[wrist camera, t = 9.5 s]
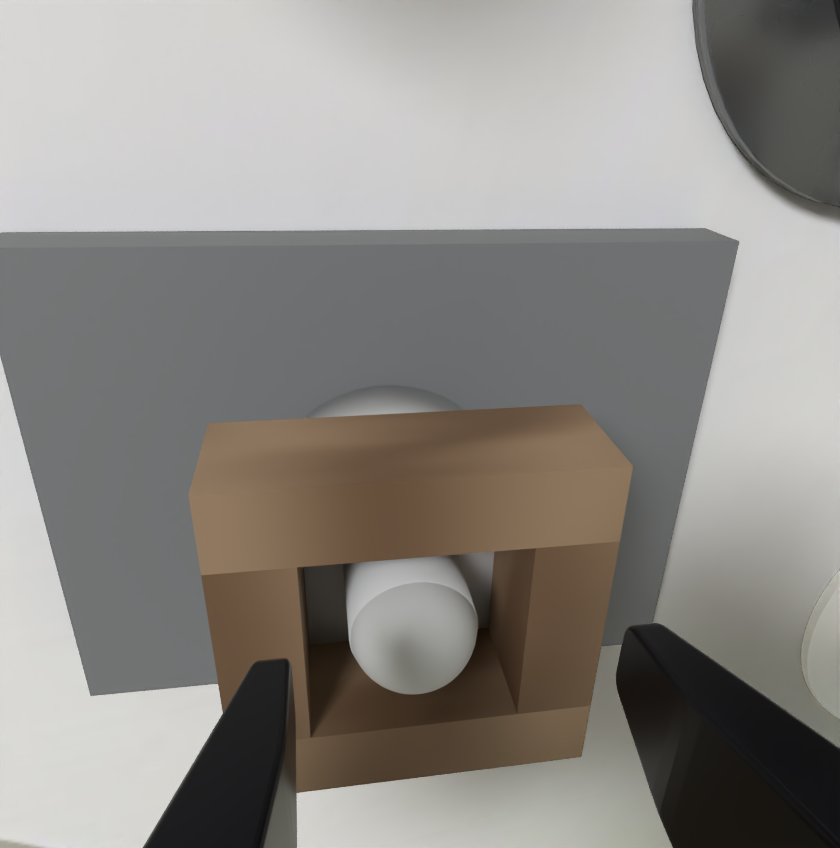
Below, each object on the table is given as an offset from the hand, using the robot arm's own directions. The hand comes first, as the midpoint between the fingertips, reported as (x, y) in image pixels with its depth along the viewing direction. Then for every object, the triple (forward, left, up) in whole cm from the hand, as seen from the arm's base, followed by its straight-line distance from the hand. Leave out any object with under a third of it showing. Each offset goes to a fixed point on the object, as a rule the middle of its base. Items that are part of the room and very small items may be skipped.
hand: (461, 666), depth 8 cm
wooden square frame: (0, +3, -6) cm, 6 cm away
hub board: (0, +3, -10) cm, 10 cm away
